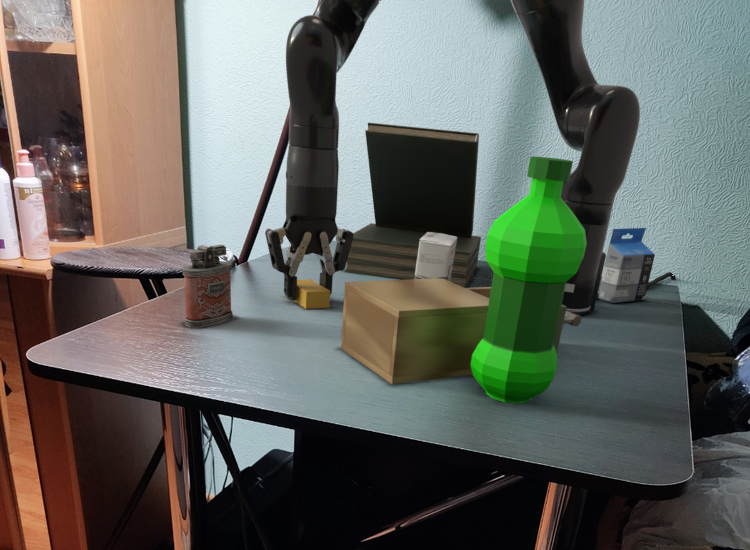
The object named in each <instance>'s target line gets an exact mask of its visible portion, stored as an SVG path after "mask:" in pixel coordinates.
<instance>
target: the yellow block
mask: <svg viewBox="0 0 750 550" xmlns="http://www.w3.org/2000/svg"><path fill="white" fill-rule="evenodd" d="M294 303H296V304H298V305H299V306H301V307H302V308H304V309H305V310H313V309H330V307H331V306H330V305H331V295H330V290H328V289H326V288H325V287H323V286H321V285H319V283H318V282H316V281H314V280H312V279H309V278H308V279H297V299H296V301H294Z"/></svg>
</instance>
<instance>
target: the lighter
mask: <svg viewBox="0 0 750 550" xmlns="http://www.w3.org/2000/svg"><path fill="white" fill-rule="evenodd" d="M221 256H222V257H223V256H227V247H226V245H224V244H214V245H209V246H208V245H207V246H206V245H202V244H201V245H198V246H197V248H196V249H192V250H189V259H190V262H191V264H190V265H186V266H183V267H182V275H183V277H184V294H185V295H184V298H185V301H184V302H185V317H184V325H185V326H186V327H188V328H194V329H197V328H205V327H210V326H214V325H219V324H222V323H225V322H228V321H230V320H233V310H232V289H231V287H232V286H231V285H232V284H231V279H232V278H231V275H232V274H231V271H232V270H233V264H232V263H231V262H229V261H226V260H225V261H223V260H221V259H220V257H221Z"/></svg>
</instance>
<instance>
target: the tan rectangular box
mask: <svg viewBox="0 0 750 550" xmlns="http://www.w3.org/2000/svg"><path fill="white" fill-rule="evenodd" d="M466 288H467V287H466ZM466 288H464V287H461V286H459V285H457V284H454V283H452V282H450V281H447V280H445V279H443V278H436V279H410V280H404V279H385V280H363V281H360V280H359V281H345V282H344V292H343V308H342V309H343V310H342V324H341V325H342V326H341V340H340V341H341V343H340V344H341V345H340V349H341V350H342V351H344V352H345V353H346V354H348V355H349V356H351V357H352V358H354V360H356V361H357V362H360V364H363V365H364V366H365V367H366V368H368V369H369V370H371V371H372V372H373V373H375V374H377V375H378V376H379V377H380V378H382V379H384V380H385V381H387V382H388V383H389V384H391V385H398V384H405V383H407V384H408V383H416V382H425V381H435V380H442V379H443V380H444V379H452V378H461V377H468V376H473V373H472V369H471V359H472V354H473V352H474V351H475V349H476V347H477V345H478V344H479V343H480V341H481V340H482V339H483V336H484V330H485V324H486V317H487V311H488V305H489V298H487V297H485V296H482V295H480V294H478V293H475V292H473V291H471V290H468V289H466Z"/></svg>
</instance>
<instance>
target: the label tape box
mask: <svg viewBox="0 0 750 550" xmlns="http://www.w3.org/2000/svg"><path fill="white" fill-rule="evenodd" d="M646 230H647V227H630V228H628V227H627V228H624V227H623V228H613V229H612V231H611V235H610V240H609V243H608V248H607V253H606V259H605V263H604V267H603V272H602V276H601V281H600V286H599V291H598V294H599V297H598V299H597V300H601V301H604V302H607V303H611V304H616V303H625V302H635V301H643V300H645V298H646V295H647V290H648V288H647V286H648V283H649V282H650V278H651V273H652V270H653V265H654V261H655V256H656V254H655V253H654V252H653V251H652V250H651V249H650V248H649V247H648V246H647V245H645V244H644V242H643V239H644V236H645V232H646ZM627 235H629V236H631V237H630V238H629V237H628V238H623V236H627Z"/></svg>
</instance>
